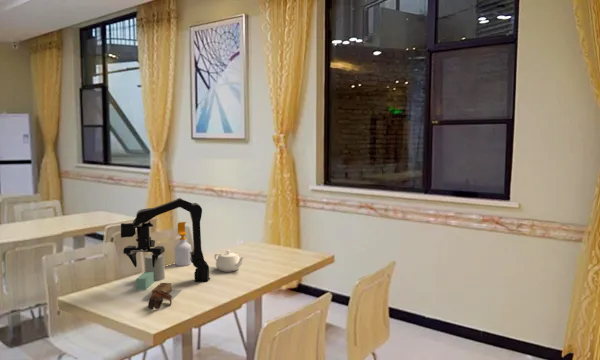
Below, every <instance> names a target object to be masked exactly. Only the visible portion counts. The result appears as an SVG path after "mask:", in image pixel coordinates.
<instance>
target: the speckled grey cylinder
mask: <svg viewBox="0 0 600 360" xmlns="http://www.w3.org/2000/svg"><path fill="white" fill-rule="evenodd" d="M152 255H153V253H150V254H146V255H144V265H145V266H144V270H145V271H144V272H153V275H154V282H159V281H162V280H165V279H166V277H165V274H166V273H165V254H164V253H162V254H160V255H159V256H158V258H157V261H156V264H155V267H154V268H153V265H152Z"/></svg>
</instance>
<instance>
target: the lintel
mask: <svg viewBox="0 0 600 360" xmlns="http://www.w3.org/2000/svg"><path fill="white" fill-rule="evenodd" d="M135 280H136V281H135V282H136V284H135V286H136V291H147V289H149V288H150V287H151V286H152V285H153V284H155V281H154V275H153V272H145V271H144V272H142V273H141V274H140V275H139V276H138V277H136V278H135Z"/></svg>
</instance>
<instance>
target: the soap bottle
mask: <svg viewBox="0 0 600 360" xmlns="http://www.w3.org/2000/svg"><path fill="white" fill-rule="evenodd" d="M186 223H187V221H179V222H177V233H178V235H179V236H180V237H179V242H178V243H177V244H176V245H175V247H174V259H175V260H174V261H175V262H174V263H175V265H176V266H178V267H185V266H189V265H192V264H193V263H192V262H191V260H190V258H191V255H190V252H192V245H191V244H190V243H189V242H187V238H186V237H185V236H187V235H188V233H187V232H186Z"/></svg>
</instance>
